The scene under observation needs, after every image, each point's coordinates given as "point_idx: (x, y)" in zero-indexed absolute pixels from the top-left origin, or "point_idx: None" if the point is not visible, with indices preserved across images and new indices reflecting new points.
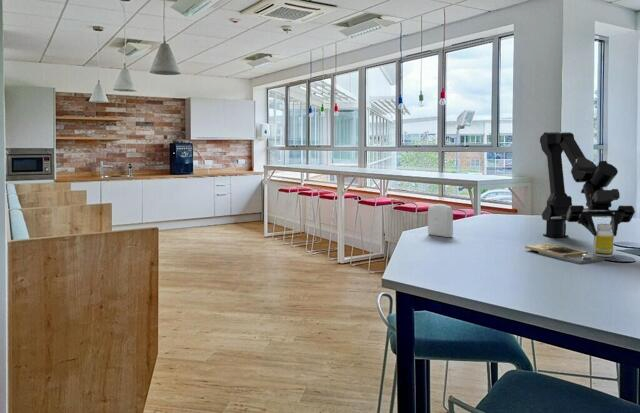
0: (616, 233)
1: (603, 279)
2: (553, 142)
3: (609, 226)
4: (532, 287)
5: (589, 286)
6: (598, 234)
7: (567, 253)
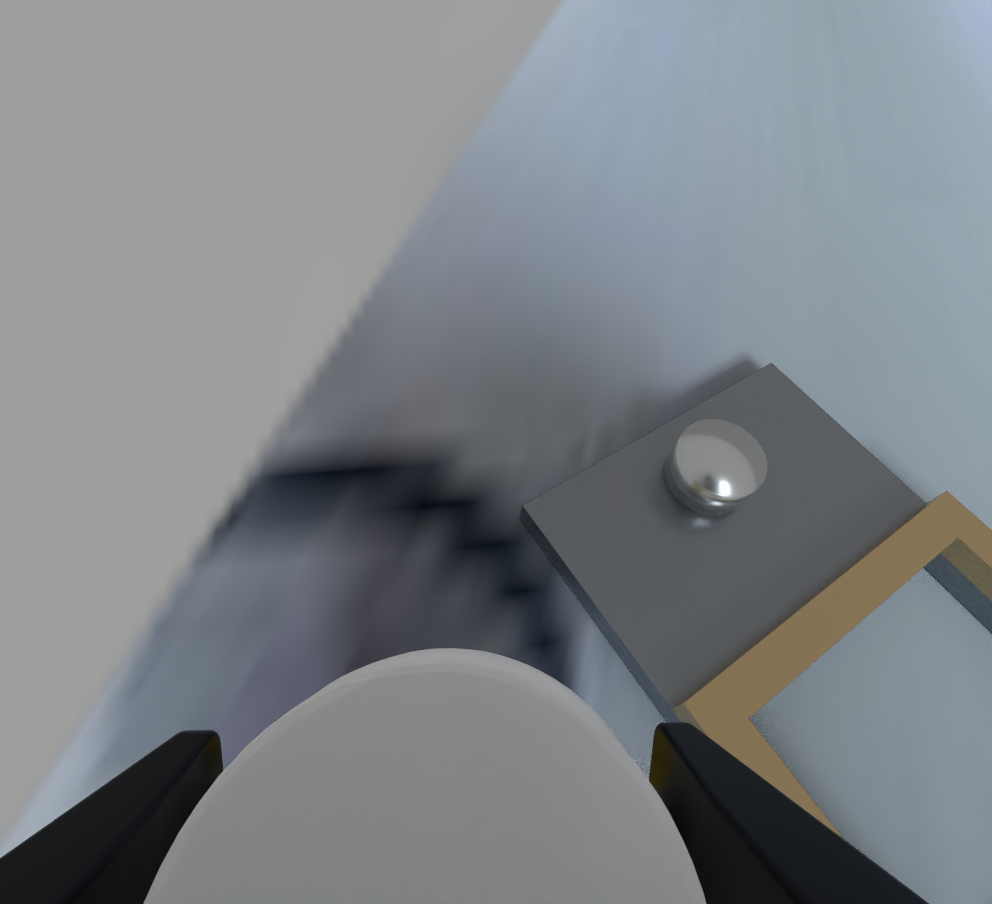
0: (168, 741)
1: (650, 102)
2: None
3: (329, 697)
4: (935, 34)
5: (724, 38)
6: (610, 729)
7: (920, 561)
